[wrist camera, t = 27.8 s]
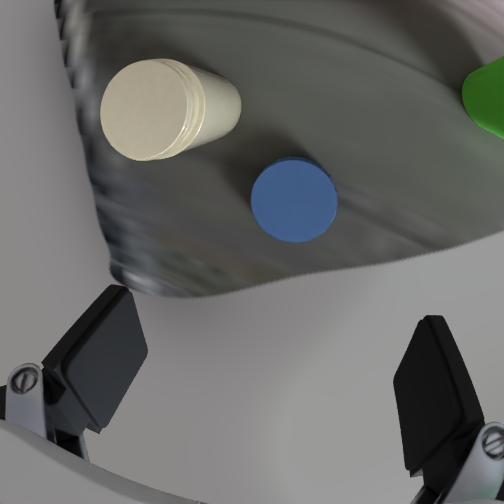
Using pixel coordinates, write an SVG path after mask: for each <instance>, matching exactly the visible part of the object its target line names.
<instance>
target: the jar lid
mask: <svg viewBox="0 0 504 504" xmlns="http://www.w3.org/2000/svg"><path fill="white" fill-rule="evenodd" d="M336 193H337V191H336V188H335V187H334V185H333V182H332V180H331V176H330V174H329V175H328V173H327V172H326V171H325V170H324V169H323V168H322V167H321V166H320V164H317V163H316V162H314V161H312V160H310V159H307V157H305V158H303V157H297V156H292V155H291V156H290V157H284V158H281V159H276V160H275V161H274V162H272V163H271V164H269V165H268V166H267V167H264V169H263V170H262V172H261V174H260V175H259V177H258V178H257V179H256V180H255V182H254V185H253V189H252V192H251V208H252V212H253V215H254V217H255V219H256V221H257V222H258V224H259V225H260V226H261V228H262V229H263V230H264V231H266V232H267V233H268V234H269V235H271V236H273V237H275V238H277V239H279V240H282V241H286V242H304V241H308V240H311V239H313V238H315V237H317V236H319V235H320V234H322V233H323V232H324V231H325V230H326V229H327V228H328V227H329V225H330V224H331V222H332V221H333V219H334V216H335V213H336V209H337V195H336Z"/></svg>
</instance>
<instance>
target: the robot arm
mask: <svg viewBox="0 0 504 504" xmlns="http://www.w3.org/2000/svg"><path fill="white" fill-rule="evenodd" d="M147 353H148V349H147V345H146V341H145V338H144V334H143V331H142V328H141V324H140V321H139V317H138V313H137V309H136V306H135V302H134V298H133V295H132V293H131V292H130V291H129V289H128V288H127V287H125V286H120V285H110V286H108V287H107V288H106V290H104V292H103V293H102V294H101V295H100V296H99V297H98V298H97V299H96V300H95V301H94V302H93V303H92V304H91V306H90V307H89V308H88V309H87V310H86V311H85V312H84V313H83V314H82V315H81V317H80V318H79V319H78V320H77V321H76V322H75V323H74V325H73V326H72V327H71V328H70V329H69V330H68V331H67V332H66V334H65V335H64V336H63V337H62V338H61V340H60V341H59V342H58V343H57V344H56V345H55V346H54V348H53V349H52V350H51V351H50V352H49V354H48V355H47V356H46V357H45V358H44V360H43V361H42V362H41V363H42V364H43V366H44V368H43V369H42V370H41V369H40V367H39V366H37V365H35V364H33V363H25V364H22V365H20V366H18V367H17V368H15V369H14V370H13V371H12V372H11V374H10V376H9V377H8V381H7V385H4V386H1V387H0V504H207V503H203V502H198V501H194V500H190V499H186V498H183V497H180V496H176V495H173V494H169V493H166V492H163V491H160V490H157V489H154V488H151V487H148V486H145V485H142V484H139V483H137V482H134V481H132V480H129V479H126V478H124V477H121V476H119V475H116V474H114V473H112V472H110V471H107V470H105V469H103V468H101V467H98V466H96V465H94V464H92V463H90V460H89V456H88V452H87V448H86V444H85V439H84V435H83V431H84V430H85V428H88V429H90V430H92V431H94V432H96V433H98V434H99V433H100V432H101V430H102V428H105V427H106V426H107V425H108V424H109V422H110V420H111V418H112V417H113V415H114V413H115V411H116V409H117V408H118V406H119V404H120V402H121V400H122V398H123V397H124V395H125V393H126V392H127V390H128V388H129V386H130V385H131V383H132V381H133V379H134V378H135V376H136V374H137V372H138V371H139V369H140V367H141V366H142V364H143V362H144V360H145V359H146V357H147ZM393 384H394V391H395V396H396V402H397V409H398V415H399V422H400V428H401V436H402V444H403V453H404V462H405V468H406V469H407V470H409V471H410V477H417V476H423V480H424V485H423V486H422V488H421V489H420V490H419V492H418V493H417V495H416V496H415V498H414V499H413V500H412V501H411V503H410V504H504V424H502V423H500V422H490V423H487V424H486V425H485V422H484V415H483V412H482V409H481V406H480V403H479V400H478V398H477V395H476V392H475V389H474V386H473V384H472V381H471V378H470V376H469V373H468V371H467V368H466V366H465V363H464V361H463V358H462V356H461V354H460V351H459V349H458V347H457V345H456V342H455V340H454V338H453V336H452V334H451V331H450V329H449V327H448V325H447V323H446V321H445V319H444V317H443V316H440V315H438V316H437V315H426V316H425V317H424V319H423V320H420V321H419V322H418V324H417V327H416V329H415V331H414V334H413V336H412V339H411V341H410V343H409V346H408V348H407V350H406V352H405V354H404V357H403V359H402V361H401V363H400V365H399V367H398V370H397V371H396V373H395V376H394V380H393Z"/></svg>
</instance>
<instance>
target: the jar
mask: <svg viewBox="0 0 504 504" xmlns="http://www.w3.org/2000/svg"><path fill="white" fill-rule="evenodd" d="M240 113H241V99H240V95H239V93H238V91H237V89H236V88H235V86H234V85H233V84H232V83H231V82H230V81H229V80H227V79H226V78H224V77H222V76H219V75H217V74H214V73H211V72H208V71H206V70H203V69H200V68H197V67H194V66H191V65H188V64H185V63H182V62H179V61H175V60H171V59H149V60H143V61H139V62H135V63H133V64H130V65H128V66H127V67H125V68H123V69H122V70H121V71H120V72H118V73H117V74H116V75H115V76H114V78H113V79H112V80H111V81H110V83H109V84H108V86H107V88H106V90H105V92H104V95H103V98H102V102H101V110H100V117H101V124H102V128H103V131H104V134H105V136H106V138H107V140H108V141H109V143H110V144H111V145H112V146H113V147H114V148H115V149H116V150H117V151H118V152H120V153H121V154H123V155H124V156H126V157H127V158H131V159H134V160H137V161H149V160H152V159H163V158H168V157H171V156H174V155H176V154H179V153H181V152H184V151H187V150H189V149H192V148H195V147H197V146H200V145H203V144H206V143H208V142H211V141H214V140H217V139H219V138H222V137H223V136H225V135H227V134H228V133H229V132H230V131H231V130H232V129H233V128H234V127H235V125H236V124H237V122H238V120H239V117H240Z"/></svg>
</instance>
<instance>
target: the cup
mask: <svg viewBox="0 0 504 504" xmlns="http://www.w3.org/2000/svg"><path fill="white" fill-rule="evenodd" d="M462 99H463V103H464V106H465V109H466V111H467V113H468V114H469V116H470V117H471V118H472V120H473V121H474V122H475V123H476V124H477V125H479V126H481V127H482V128H484V129H486V130H488V131H490V132H492V133H494V134H496V135H497V136H499V137H501V138H503V139H504V56H503V57H501V58H499V59H497V60H495V61H493V62H491V63H489V64H487V65H485V66H483V67H481V68H479V69H477V70H475V71H473V72H471V73H470V74H469V75H468V76H467V78H466V79H465V81H464V84H463V87H462Z"/></svg>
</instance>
